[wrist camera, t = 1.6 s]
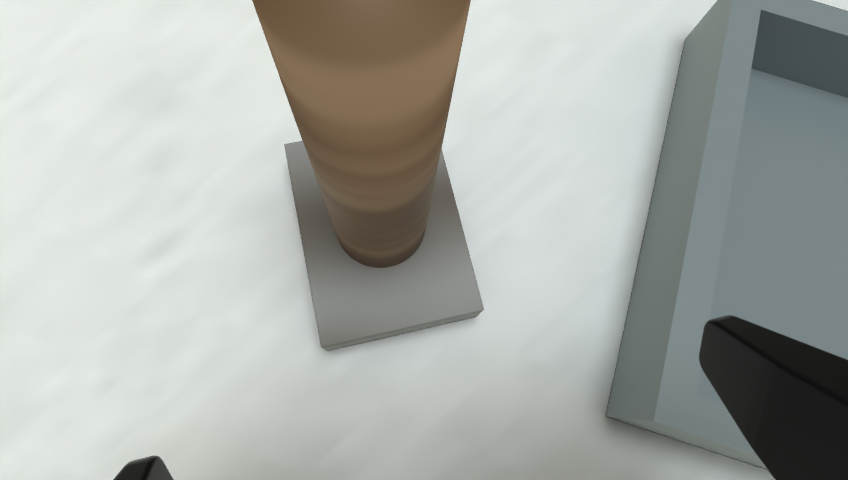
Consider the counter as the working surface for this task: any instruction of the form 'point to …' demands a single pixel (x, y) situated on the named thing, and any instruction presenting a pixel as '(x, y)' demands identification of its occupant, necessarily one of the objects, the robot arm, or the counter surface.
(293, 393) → the counter surface
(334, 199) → the brown post on plinth
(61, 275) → the counter surface
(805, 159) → the tray
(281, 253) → the counter surface
